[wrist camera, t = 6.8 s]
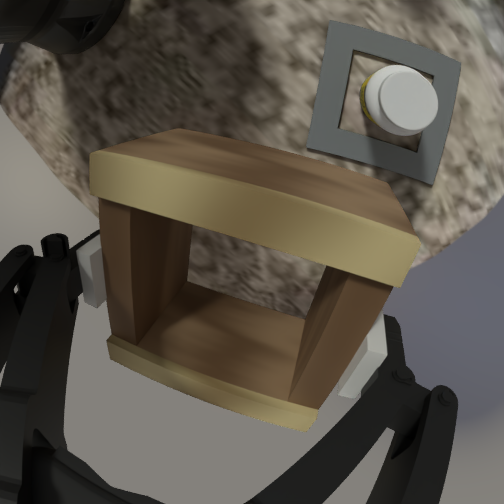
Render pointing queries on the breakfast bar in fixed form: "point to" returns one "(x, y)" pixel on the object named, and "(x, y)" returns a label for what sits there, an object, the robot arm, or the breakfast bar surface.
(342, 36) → the flat square frame
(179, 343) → the wooden box
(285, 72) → the breakfast bar surface
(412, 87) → the supplement bottle
